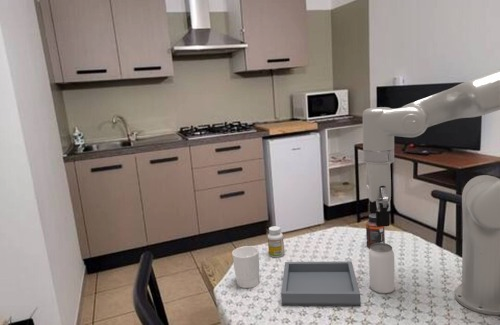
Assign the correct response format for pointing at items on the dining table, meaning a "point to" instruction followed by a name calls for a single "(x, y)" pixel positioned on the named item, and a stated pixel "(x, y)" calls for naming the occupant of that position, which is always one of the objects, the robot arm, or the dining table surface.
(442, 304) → the dining table surface
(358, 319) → the dining table surface
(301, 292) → the tray
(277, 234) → the supplement bottle
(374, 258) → the can
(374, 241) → the supplement bottle
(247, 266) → the white cup
